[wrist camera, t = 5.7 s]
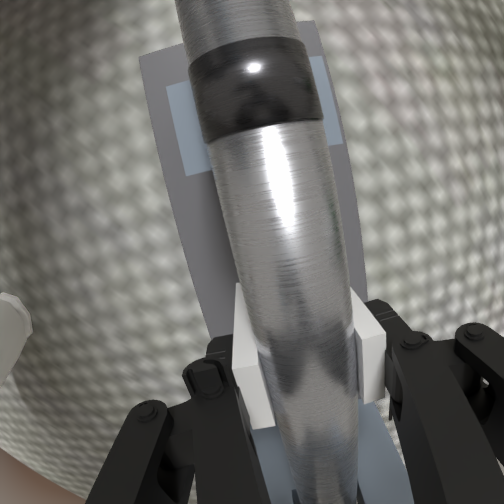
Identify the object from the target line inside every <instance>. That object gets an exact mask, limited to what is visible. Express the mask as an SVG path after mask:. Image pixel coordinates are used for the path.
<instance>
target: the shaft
mask: <svg viewBox="0 0 504 504" xmlns="http://www.w3.org/2000/svg"><path fill="white" fill-rule="evenodd" d="M175 5H176V10H177V15H178V19H179V24H180V29H181V34H182V38H183V43H184V48H185V52H186V57H187V61H188V66H189V67H188V75H189V80H190V84H191V89H192V93H193V98H194V102H195V107H196V111H197V115H198V120H199V124H200V128H201V133H202V137H203V141H204V144H206V145H207V150H208V154H209V158H210V162H211V167H212V171H213V175H214V179H215V183H216V188H217V192H218V196H219V200H220V204H221V208H222V212H223V217H224V221H225V225H226V229H227V233H228V237H229V241H230V245H231V249H232V253H233V257H234V261H235V265H236V269H237V273H238V277H239V281H240V285H241V288H242V292H243V296H244V300H245V304H246V308H247V312H248V316H249V319H250V323H251V327H252V331H253V335H254V339H255V342H256V346H257V350H258V353H259V357H260V361H261V365H262V368H263V372H264V376H265V380H266V383H267V387H268V391H269V394H270V398H271V402H272V405H273V409H274V413H275V416H276V420H277V424H278V427H279V431H280V434H281V438H282V441H283V445H284V448H285V452H286V456H287V459H288V463H289V466H290V470H291V473H292V476H293V480H294V483H295V487H296V490H297V494H298V497H299V500H300V504H356V497H357V476H358V386H357V364H356V347H355V333H354V321H353V309H352V299H351V289H350V280H349V271H348V263H347V255H346V248H345V240H344V233H343V227H342V220H341V214H340V207H339V201H338V195H337V190H336V184H335V179H334V173H333V168H332V163H331V158H330V153H329V148H328V143H327V138H326V134H325V129H324V124H323V119H324V116H323V111H322V107H321V103H320V99H319V95H318V91H317V87H316V83H315V79H314V75H313V71H312V68H311V64H310V60H309V57H308V53H307V50H306V46H305V44H304V43H303V42H302V40H301V36H300V33H299V30H298V26H297V23H296V20H295V17H294V14H293V11H292V8H291V5H290V2H289V0H175Z"/></svg>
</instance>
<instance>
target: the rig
mask: <svg viewBox="0 0 504 504" xmlns="http://www.w3.org/2000/svg"><path fill="white" fill-rule="evenodd" d="M296 23H297V26H298V30H299V33H300V36H301V40H302V42H303V43H304V44H305V46H306V50H307V53H308V57H309V60H310V64H311V68H312V71H313V75H314V79H315V83H316V87H317V91H318V95H319V99H320V103H321V107H322V111H323V116H324V119H323V124H324V129H325V134H326V138H327V143H328V148H329V153H330V158H331V163H332V168H333V173H334V179H335V184H336V190H337V195H338V201H339V207H340V214H341V220H342V227H343V233H344V240H345V248H346V255H347V263H348V271H349V280H350V287H351V288H352V289H353V291H354V292H355V293H356V294H357V296H358V297H359V298H360V299H361V301H362V302H363V303H365V302H368V296H367V284H366V273H365V263H364V253H363V245H362V236H361V228H360V221H359V214H358V207H357V200H356V194H355V188H354V182H353V176H352V170H351V165H350V159H349V154H348V149H347V144H346V139H345V134H344V130H343V125H342V121H341V116H340V112H339V107H338V103H337V99H336V95H335V91H334V87H333V83H332V79H331V76H330V72H329V68H328V65H327V61H326V57H325V54H324V51H323V47H322V44H321V40H320V37H319V34H318V31H317V28H316V25H315V21H314V20H313V21H301V22H296ZM139 62H140V68H141V73H142V78H143V84H144V89H145V94H146V99H147V104H148V108H149V113H150V118H151V123H152V127H153V132H154V136H155V141H156V145H157V149H158V154H159V158H160V162H161V166H162V170H163V175H164V179H165V183H166V187H167V191H168V195H169V198H170V202H171V206H172V210H173V214H174V217H175V221H176V225H177V228H178V232H179V236H180V239H181V243H182V246H183V250H184V253H185V257H186V260H187V264H188V267H189V270H190V274H191V277H192V280H193V284H194V287H195V290H196V294H197V297H198V300H199V303H200V306H201V309H202V313H203V316H204V319H205V322H206V325H207V328H208V331H209V334H210V337H211V340H212V339H213V338H214V337H219V336H224V335H229V334H234V314H235V294H236V283H239V282H240V281H239V277H238V273H237V269H236V265H235V261H234V257H233V253H232V249H231V245H230V241H229V237H228V233H227V229H226V225H225V221H224V217H223V212H222V208H221V204H220V200H219V196H218V192H217V188H216V183H215V179H214V175H213V171H212V167H211V162H210V158H209V154H208V150H207V145H206V144H204V141H203V137H202V133H201V128H200V124H199V120H198V115H197V111H196V107H195V102H194V98H193V93H192V89H191V84H190V80H189V75H188V67H189V66H188V61H187V57H186V52H185V48H184V43H182V44H178V45H175V46H171V47H168V48H165V49H162V50H159V51H155V52H152V53H149V54H146V55H143V56H141V57H139ZM274 417H275V425H276V426H272V427H266V428H260V429H254V430H253V429H252V426H251V423H250V432H251V434H252V437H253V440H254V443H255V447H256V451H257V455H258V458H259V462H260V466H261V469H262V473H263V476H264V480H265V484H266V487H267V491H268V494H269V498H270V501H271V504H300V500H299V497H298V494H297V490H296V487H295V483H294V480H293V476H292V473H291V470H290V466H289V463H288V459H287V456H286V452H285V448H284V445H283V441H282V438H281V434H280V431H279V427H278V424H277V420H276V416H275V413H274ZM356 498H357V502H358V504H414V500H413V495H412V490H411V486H410V481H409V477H408V473H407V471H406V469H405V466H404V464H403V462H402V460H401V458H400V455H399V453H398V451H397V449H396V447H395V445H394V443H393V440H392V438H391V436H390V434H389V432H388V430H387V428H386V426H385V424H384V421H383V419H382V417H381V415H380V413H379V411H378V409H377V407H376V405H375V403H374V401H373V402H370V403H367V404H364V403H363V401H362V399H361V397H360V394H359V392H358V476H357V497H356Z"/></svg>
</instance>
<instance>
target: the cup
mask: <svg viewBox="0 0 504 504" xmlns="http://www.w3.org/2000/svg"><path fill="white" fill-rule="evenodd" d="M32 333H33V328H32V322H31V315H30V313H29V312H28V310H27V309H26V308H25V306H24V305H23V304H22V302H21V301H20V299H19V298H18V297H17V296H14V295H11V294H8V293H5V292H2V293H1V294H0V388H1V387H2V385H3V383H4V381H5V379H6V378H7V376H8V374H9V373H10V371H11V369H12V368H13V366H14V365H15V363H16V361H17V360H18V358H19V356H20V354H21V352H22V349H23V347H24V345H25V343H26V341H27V340H26V339H27V338H28V337H29V336H30V335H31V334H32Z"/></svg>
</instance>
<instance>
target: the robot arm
mask: <svg viewBox="0 0 504 504" xmlns="http://www.w3.org/2000/svg"><path fill="white" fill-rule="evenodd" d="M350 289H351V299H352V309H353V321H354V333H355V347H356V364H357V386H358V392H359V394H360V397H361V399H362V401H363V403H364V404H367V403H370V402H373V401H377V400H380V399H383V398H385V386H386V388H387V390H388V391H389V393H390V407H389V421H390V420H392V415H393V419H394V422H395V426H396V429H397V433H398V437H399V441H400V444H401V448H402V452H403V456H404V460H405V464H406V468H407V473H408V477H409V481H410V486H411V490H412V495H413V500H414V504H504V475H503V473H502V471H501V469H500V466H499V464H498V461H497V459H498V460H499V461H500V463H501V464H502V465H503V466H504V337H502V336H501V335H499V334H498V333H497V332H495V331H494V330H492V329H491V328H489V327H488V326H486V325H484V324H481V323H467V324H464V325H462V326H460V327H459V328H458V329H457V331H456V333H455V339H449V340H442V341H433V340H432V338H431V337H430V336H429V335H428V334H425V333H423V332H418V331H412V330H411V329H410V327H409V326H408V325H407V324H406V323H405V322H404V321H403V320H402V319H401V317H400V316H398V314H397V313H396V312H395V311H393V309H392V308H391V307H390V305H389V304H388V303H386V302H384V301H381V300H379V299H376V300H372V301H368V302H365V303H363V302H362V301H361V299H360V298H359V297H358V296H357V294H356V293H355V292H354V291H353V289H352V288H351V287H350ZM182 377H183V379H184V382H185V384H186V386H187V389H188V391H189V393H190V395H191V399H190V400H188V401H186V402H184V403H182V404H179V405H176V406H173V407H170V408H167V406H166V404H165V403H163V402H162V401H159V400H148V401H144V402H142V403H139V404H138V405H136V406H135V407H134V408H132V410H131V411H130V412H129V414H128V416H127V418H126V420H125V422H124V424H123V426H122V428H121V430H120V432H119V434H118V436H117V438H116V440H115V442H114V444H113V446H112V448H111V450H110V452H109V454H108V456H107V458H106V460H105V462H104V464H103V466H102V468H101V471H100V473H99V475H98V477H97V479H96V481H95V483H94V485H93V487H92V490H91V492H90V494H89V496H88V498H87V500H86V503H85V504H188V499H189V495H190V491H191V486H192V482H193V478H194V474H195V480H196V492H197V504H271V501H270V498H269V494H268V491H267V487H266V484H265V480H264V476H263V473H262V469H261V466H260V462H259V458H258V455H257V451H256V447H255V443H254V440H253V437H252V434H251V432H250V423H251V426H252V429H253V430H254V429H260V428H266V427H272V426H276V425H275V417H274V409H273V405H272V402H271V398H270V394H269V391H268V387H267V383H266V380H265V376H264V372H263V368H262V365H261V361H260V357H259V353H258V350H257V346H256V342H255V339H254V335H253V331H252V327H251V323H250V319H249V316H248V312H247V308H246V304H245V300H244V296H243V292H242V288H241V285H240V282H239V283H236V294H235V314H234V334H229V335H224V336H219V337H214V338H213V339H212V340H211V342H210V343H209V344H208V346H207V352H206V357H205V358H201V359H199V360H196V361H194V362H192V363H191V364H189V365H188V366H187V367H186V368H185V369H184V370H183V374H182ZM483 378H484V379H485V380H486V381H487V382H489V385H487V384H485V383H484V382H483ZM496 458H497V459H496Z"/></svg>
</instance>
